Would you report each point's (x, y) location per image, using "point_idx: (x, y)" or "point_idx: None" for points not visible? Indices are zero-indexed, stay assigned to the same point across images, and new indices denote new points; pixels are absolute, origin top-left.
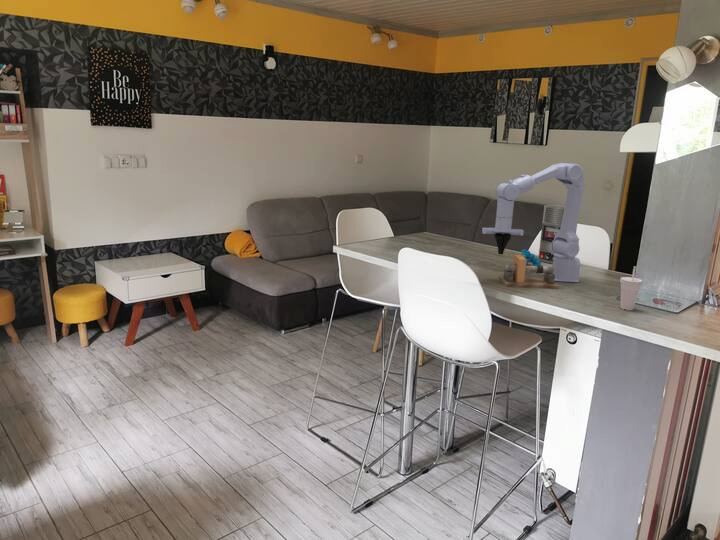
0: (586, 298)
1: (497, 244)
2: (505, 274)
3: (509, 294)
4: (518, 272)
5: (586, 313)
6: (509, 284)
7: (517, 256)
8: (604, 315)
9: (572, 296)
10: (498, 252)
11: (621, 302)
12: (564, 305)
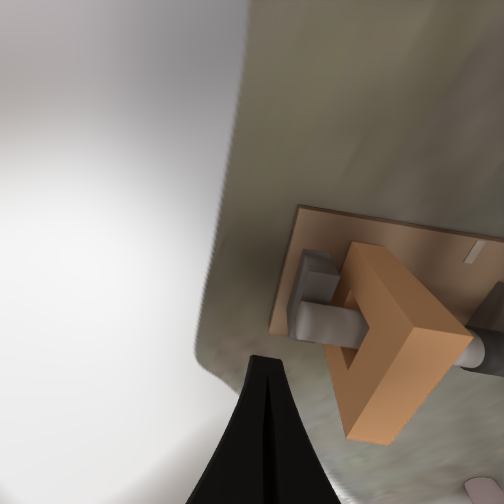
0: (455, 431)
1: (227, 434)
2: (297, 290)
3: (240, 393)
4: (330, 365)
5: (350, 489)
6: (281, 333)
7: (391, 383)
8: (379, 497)
9: (428, 417)
10: (247, 372)
11: (474, 502)
12: (339, 458)
